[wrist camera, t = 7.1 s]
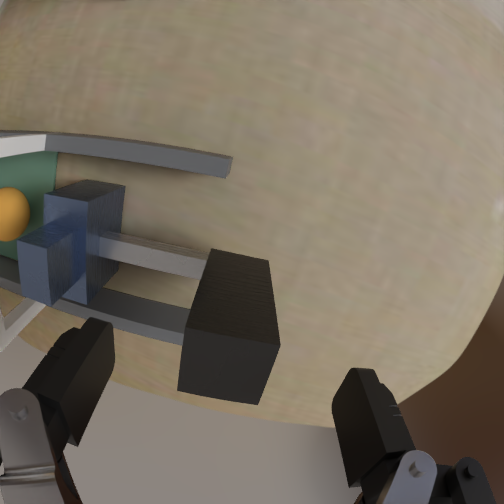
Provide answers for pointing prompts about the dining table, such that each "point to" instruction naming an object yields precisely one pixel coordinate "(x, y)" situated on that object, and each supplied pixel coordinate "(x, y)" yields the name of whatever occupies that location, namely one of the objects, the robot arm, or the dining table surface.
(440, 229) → the dining table surface
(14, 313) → the pitch
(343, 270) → the dining table surface
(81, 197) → the striker
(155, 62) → the dining table surface
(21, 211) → the ball
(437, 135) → the dining table surface
